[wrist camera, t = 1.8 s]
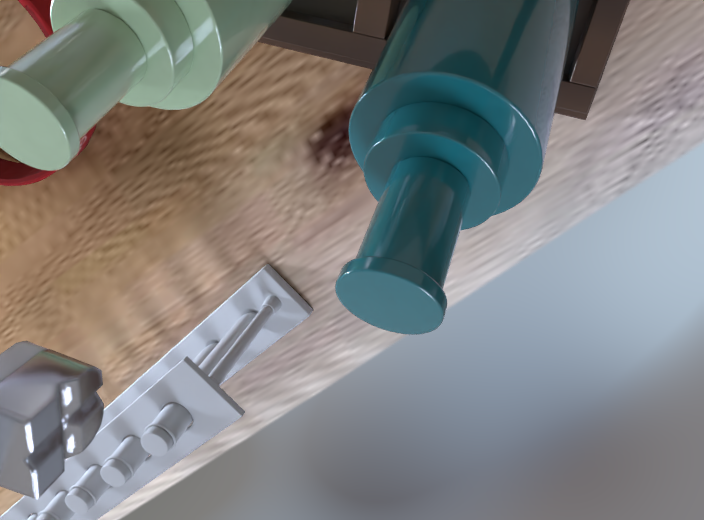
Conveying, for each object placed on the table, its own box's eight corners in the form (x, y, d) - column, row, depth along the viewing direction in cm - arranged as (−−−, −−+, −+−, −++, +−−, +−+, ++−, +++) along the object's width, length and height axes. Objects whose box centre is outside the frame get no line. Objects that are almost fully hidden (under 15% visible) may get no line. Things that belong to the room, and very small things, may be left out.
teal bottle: (448, -134, 24) (268, 200, 15) (613, -105, 23) (535, 276, 13) (428, 11, 29) (287, 324, 20) (561, 40, 28) (479, 385, 19)
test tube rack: (268, 262, 40) (159, 384, 29) (314, 309, 41) (225, 446, 30) (93, 418, 53) (-31, 546, 41) (130, 452, 53) (18, 587, 42)
